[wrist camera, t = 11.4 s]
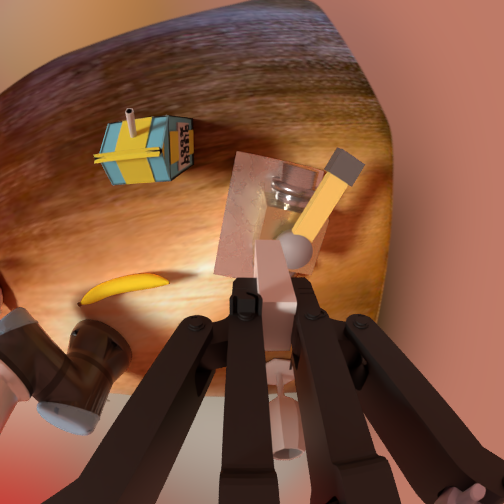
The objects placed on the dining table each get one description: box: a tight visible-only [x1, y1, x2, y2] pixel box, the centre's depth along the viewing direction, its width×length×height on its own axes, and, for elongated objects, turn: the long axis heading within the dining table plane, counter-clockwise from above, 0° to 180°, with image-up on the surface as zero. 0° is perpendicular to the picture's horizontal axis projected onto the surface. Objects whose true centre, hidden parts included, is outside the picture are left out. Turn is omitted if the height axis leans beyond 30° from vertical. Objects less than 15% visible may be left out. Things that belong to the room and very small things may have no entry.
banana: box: [78, 273, 170, 307], centre depth 45 cm, size 3×19×6 cm, turn 104°
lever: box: [276, 148, 365, 269], centre depth 32 cm, size 15×4×2 cm, turn 152°
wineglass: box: [266, 358, 306, 460], centre depth 49 cm, size 9×9×21 cm
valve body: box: [214, 151, 329, 278], centre depth 40 cm, size 20×13×10 cm, turn 168°
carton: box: [94, 108, 194, 185], centre depth 30 cm, size 7×8×18 cm
